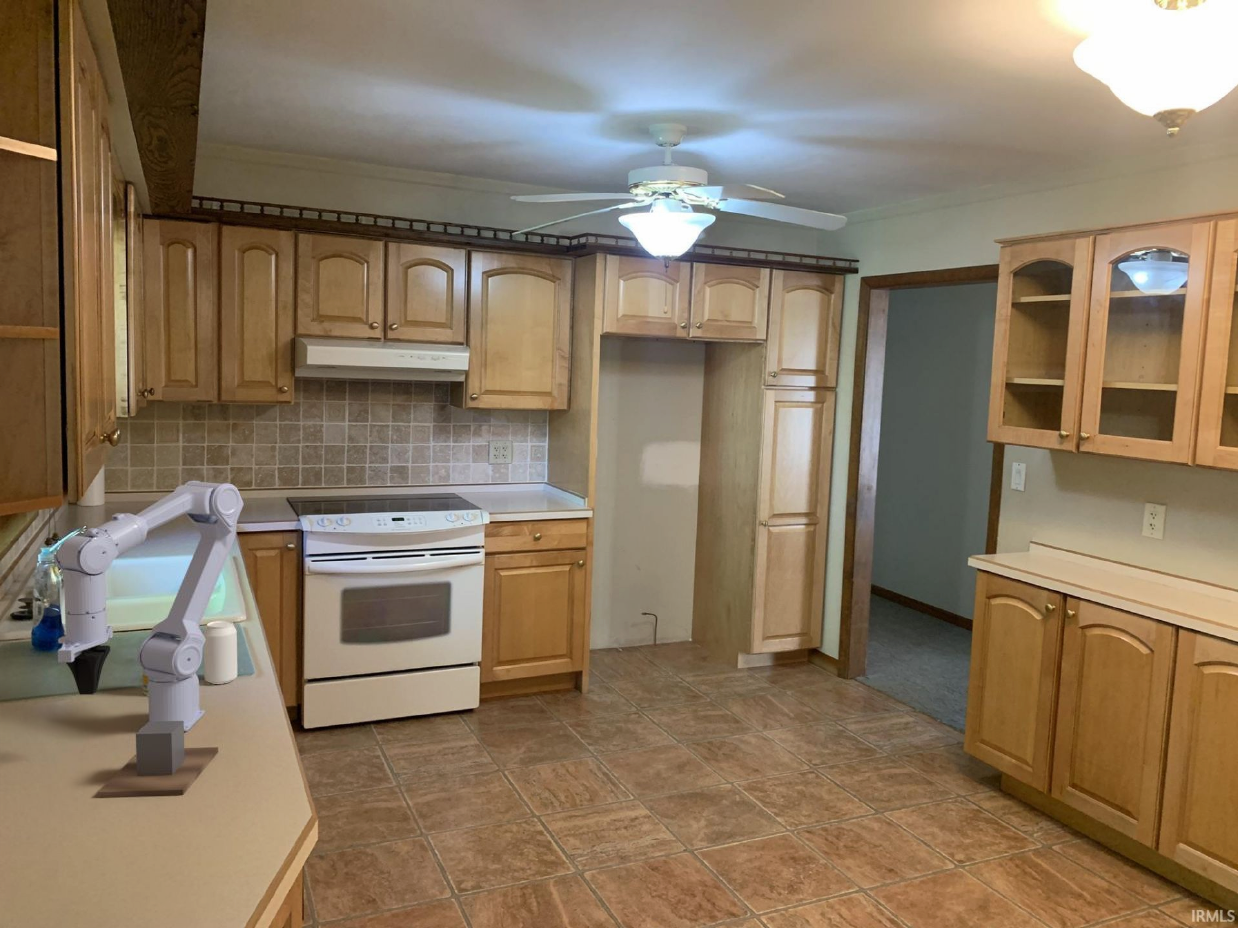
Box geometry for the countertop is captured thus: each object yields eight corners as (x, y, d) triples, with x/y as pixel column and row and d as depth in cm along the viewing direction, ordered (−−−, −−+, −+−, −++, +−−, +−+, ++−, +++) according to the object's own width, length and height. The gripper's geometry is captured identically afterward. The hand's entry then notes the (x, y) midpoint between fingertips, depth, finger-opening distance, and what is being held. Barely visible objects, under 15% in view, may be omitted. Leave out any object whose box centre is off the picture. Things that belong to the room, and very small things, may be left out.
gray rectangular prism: (150, 761, 146) (149, 721, 145) (184, 760, 146) (183, 720, 146) (136, 775, 141) (135, 733, 140) (172, 774, 141) (171, 733, 141)
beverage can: (215, 675, 191) (214, 618, 190) (243, 677, 190) (242, 620, 189) (198, 685, 185) (196, 626, 184) (226, 686, 184) (225, 628, 183)
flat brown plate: (142, 753, 151) (141, 719, 150) (218, 751, 152) (217, 717, 152) (97, 797, 135) (96, 758, 134) (183, 794, 136) (182, 756, 136)
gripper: (80, 600, 155) (83, 679, 156) (35, 622, 140) (38, 708, 141) (124, 600, 155) (126, 678, 156) (84, 621, 141) (87, 708, 142)
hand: (88, 693), depth 149 cm, fingers closed
